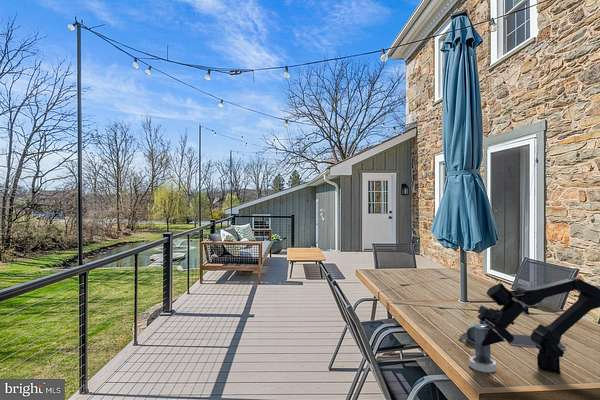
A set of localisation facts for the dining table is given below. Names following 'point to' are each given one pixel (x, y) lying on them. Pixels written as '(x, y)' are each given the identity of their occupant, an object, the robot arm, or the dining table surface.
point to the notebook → (527, 341)
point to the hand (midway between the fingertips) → (478, 342)
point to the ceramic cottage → (523, 303)
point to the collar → (482, 365)
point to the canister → (480, 334)
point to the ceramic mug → (469, 334)
